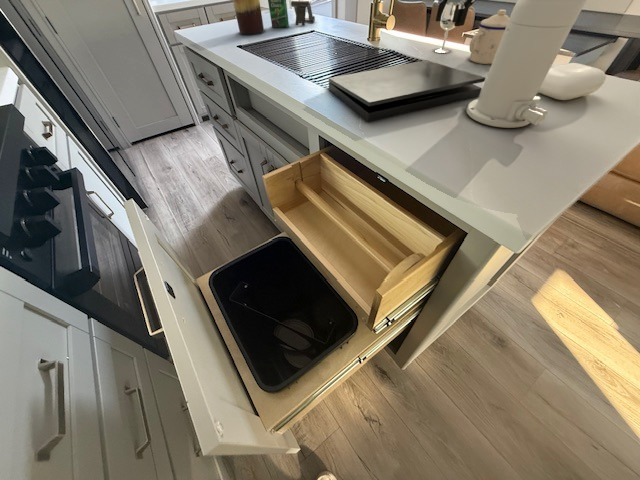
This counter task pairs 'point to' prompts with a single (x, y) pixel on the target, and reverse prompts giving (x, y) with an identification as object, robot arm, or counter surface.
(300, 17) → the tablet stand
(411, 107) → the laptop
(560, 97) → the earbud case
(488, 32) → the teacup with lid
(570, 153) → the counter surface
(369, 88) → the laptop screen
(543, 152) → the counter surface
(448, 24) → the wineglass
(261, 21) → the vase
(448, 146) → the counter surface
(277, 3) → the coffee box
